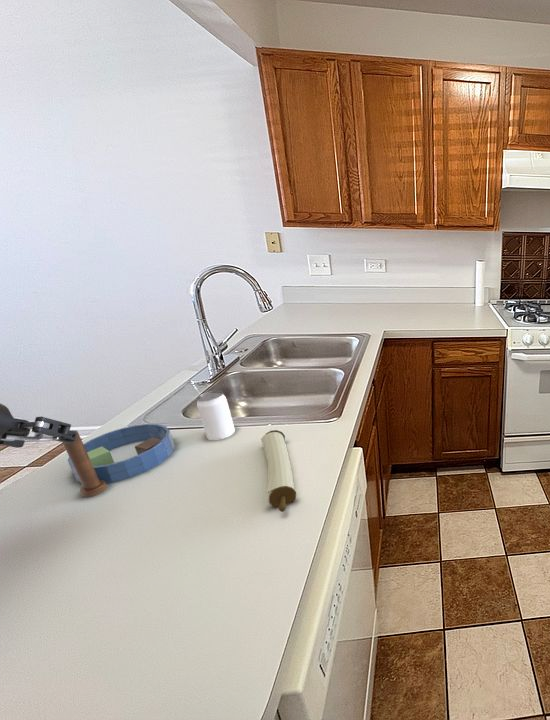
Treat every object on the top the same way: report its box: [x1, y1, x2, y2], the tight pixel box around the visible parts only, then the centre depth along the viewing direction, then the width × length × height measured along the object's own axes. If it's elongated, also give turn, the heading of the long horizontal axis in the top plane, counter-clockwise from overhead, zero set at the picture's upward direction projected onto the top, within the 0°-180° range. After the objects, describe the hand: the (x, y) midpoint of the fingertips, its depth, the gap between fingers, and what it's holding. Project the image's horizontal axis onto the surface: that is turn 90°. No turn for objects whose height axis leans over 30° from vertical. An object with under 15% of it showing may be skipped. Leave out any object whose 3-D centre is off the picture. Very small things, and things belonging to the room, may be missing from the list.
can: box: [196, 390, 236, 441], centre depth 104 cm, size 6×6×12 cm
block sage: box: [87, 447, 115, 467], centre depth 92 cm, size 4×4×4 cm
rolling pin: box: [260, 429, 297, 513], centre depth 90 cm, size 32×6×5 cm, turn 29°
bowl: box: [67, 423, 175, 484], centre depth 94 cm, size 18×18×5 cm
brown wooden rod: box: [61, 429, 108, 499], centre depth 82 cm, size 4×4×15 cm
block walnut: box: [134, 438, 162, 455], centre depth 95 cm, size 4×4×4 cm
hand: (48, 440), depth 75 cm, fingers open, 8 cm apart
